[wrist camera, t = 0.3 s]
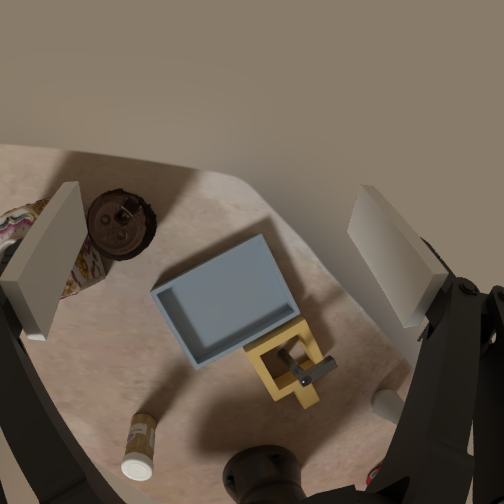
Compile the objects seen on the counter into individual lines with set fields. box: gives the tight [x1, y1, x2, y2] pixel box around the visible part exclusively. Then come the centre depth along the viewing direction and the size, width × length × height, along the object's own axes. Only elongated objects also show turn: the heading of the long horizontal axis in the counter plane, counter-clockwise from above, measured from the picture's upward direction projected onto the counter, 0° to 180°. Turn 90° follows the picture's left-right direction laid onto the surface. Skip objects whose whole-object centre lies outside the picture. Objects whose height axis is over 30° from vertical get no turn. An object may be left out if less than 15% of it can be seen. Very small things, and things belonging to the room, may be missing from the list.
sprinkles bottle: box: [121, 413, 156, 481], centre depth 41 cm, size 5×5×13 cm
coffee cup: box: [86, 188, 157, 261], centre depth 40 cm, size 9×8×13 cm
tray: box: [150, 233, 300, 370], centre depth 48 cm, size 14×18×3 cm
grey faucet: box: [278, 349, 338, 388], centre depth 47 cm, size 2×6×11 cm, turn 117°
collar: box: [243, 315, 324, 409], centre depth 51 cm, size 15×10×4 cm
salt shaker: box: [371, 389, 405, 425], centre depth 51 cm, size 6×6×13 cm
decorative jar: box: [0, 197, 106, 299], centre depth 36 cm, size 12×12×18 cm
